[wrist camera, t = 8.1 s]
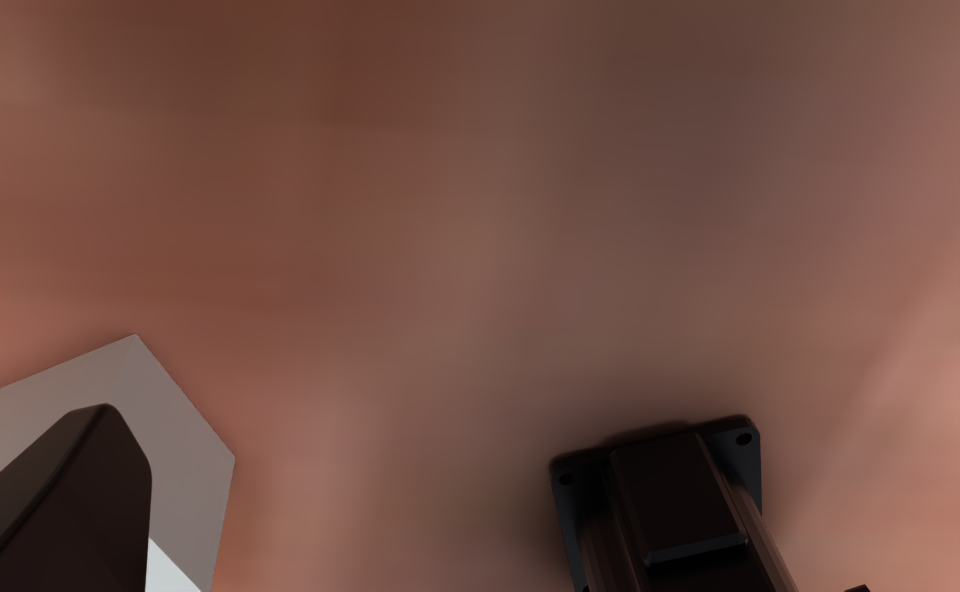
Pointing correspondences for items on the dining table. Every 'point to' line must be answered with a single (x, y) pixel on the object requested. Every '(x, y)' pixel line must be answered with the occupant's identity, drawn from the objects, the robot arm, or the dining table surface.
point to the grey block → (162, 436)
